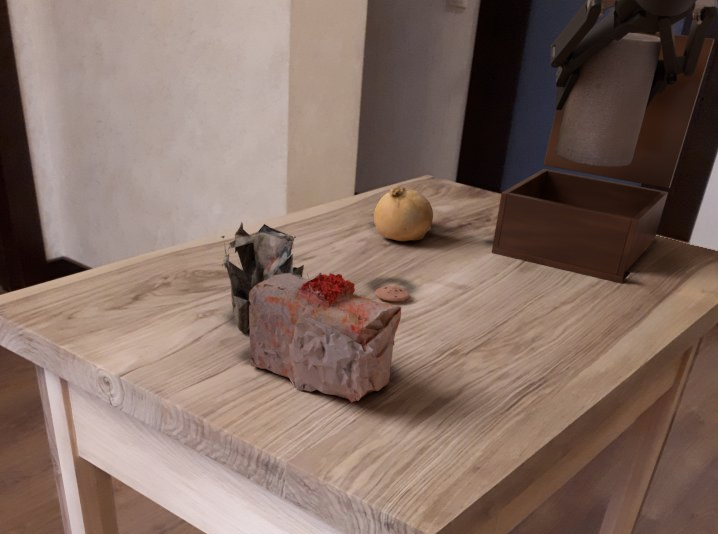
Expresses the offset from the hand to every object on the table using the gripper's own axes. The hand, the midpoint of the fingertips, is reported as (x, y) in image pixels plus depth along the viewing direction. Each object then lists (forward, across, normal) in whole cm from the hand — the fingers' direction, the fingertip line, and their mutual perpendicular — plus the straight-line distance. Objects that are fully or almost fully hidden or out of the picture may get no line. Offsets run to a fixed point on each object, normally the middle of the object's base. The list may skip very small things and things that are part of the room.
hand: (598, 102), depth 100 cm
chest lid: (+5, +5, +3) cm, 7 cm away
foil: (-7, -39, -33) cm, 52 cm away
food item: (-18, -33, -44) cm, 58 cm away
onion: (+12, -23, -14) cm, 30 cm away
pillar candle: (+2, 0, -6) cm, 7 cm away
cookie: (-3, -26, -29) cm, 39 cm away
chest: (+11, 0, -14) cm, 18 cm away
